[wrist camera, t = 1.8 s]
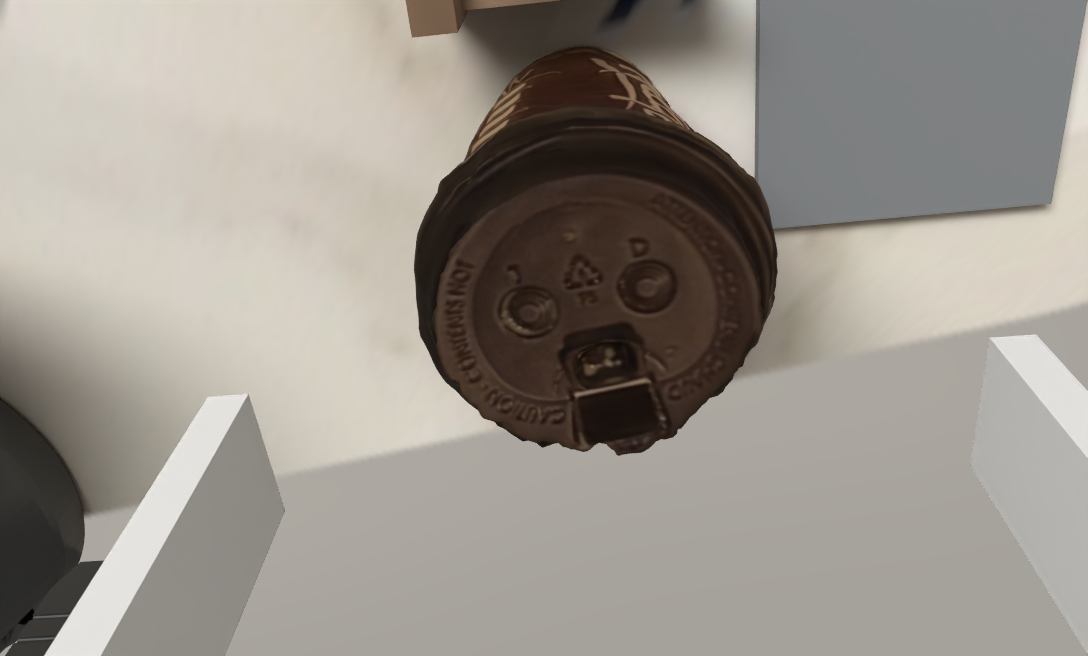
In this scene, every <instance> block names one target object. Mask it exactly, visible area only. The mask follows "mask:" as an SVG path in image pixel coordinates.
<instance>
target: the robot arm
mask: <svg viewBox="0 0 1088 656" xmlns="http://www.w3.org/2000/svg"><path fill="white" fill-rule="evenodd" d="M970 466H971V468H972V470H973V471H974V473H975V475H976V476H977V478H978V479H979V481H980V483H981V484H982V486H983V487H984V489H985V491H986V492H987V494H988V496H989V497H990V499H991V500H992V502H993V504H994V505H995V507H996V508H997V510H998V512H999V513H1000V515H1001V516H1002V518H1003V520H1004V521H1005V523H1006V524H1007V526H1008V528H1009V529H1010V531H1011V532H1012V534H1013V536H1014V537H1015V539H1016V541H1017V542H1018V544H1019V545H1020V547H1021V549H1022V550H1023V552H1024V553H1025V555H1026V557H1027V558H1028V560H1029V561H1030V563H1031V565H1032V566H1033V568H1034V569H1035V571H1036V573H1037V574H1038V576H1039V577H1040V579H1041V581H1042V582H1043V584H1044V585H1045V587H1046V589H1047V590H1048V592H1049V594H1050V595H1051V597H1052V598H1053V600H1054V602H1055V603H1056V605H1057V606H1058V608H1059V610H1060V611H1061V613H1062V614H1063V616H1064V618H1065V619H1066V621H1067V623H1068V624H1069V626H1070V627H1071V629H1072V631H1073V632H1074V634H1075V635H1076V637H1077V639H1078V640H1079V642H1080V643H1081V645H1082V647H1083V648H1084V650H1085V651H1086V653H1087V655H1088V391H1087V390H1086V389H1085V388H1084V387H1083V386H1082V385H1081V384H1080V383H1079V381H1078V380H1077V379H1076V378H1075V377H1074V376H1073V375H1072V374H1071V373H1070V372H1069V371H1068V369H1067V368H1066V367H1065V366H1064V365H1063V364H1062V363H1061V362H1060V361H1059V359H1058V358H1057V357H1056V356H1055V355H1054V354H1053V353H1052V352H1051V351H1050V350H1049V348H1048V347H1047V346H1046V345H1045V344H1044V343H1043V342H1042V341H1041V340H1040V339H1039V338H1038V336H1037V335H1036V334H1035V335H1023V336H1022V335H1021V336H1008V337H995V338H990V339H989V345H988V352H987V359H986V365H985V372H984V378H983V385H982V391H981V398H980V404H979V410H978V418H977V423H976V430H975V436H974V443H973V450H972V457H971V462H970ZM284 512H285V510H284V507H283V503H282V500H281V497H280V493H279V490H278V487H277V484H276V481H275V477H274V474H273V471H272V468H271V465H270V461H269V458H268V455H267V452H266V449H265V445H264V442H263V439H262V436H261V433H260V429H259V426H258V423H257V420H256V417H255V413H254V410H253V407H252V404H251V401H250V397H249V394H240V395H226V396H213V397H207V399H206V400H205V402H204V404H203V405H202V407H201V408H200V410H199V412H198V413H197V415H196V416H195V418H194V419H193V421H192V423H191V424H190V426H189V427H188V429H187V431H186V432H185V434H184V435H183V437H182V438H181V440H180V442H179V443H178V445H177V446H176V448H175V450H174V451H173V453H172V454H171V456H170V457H169V459H168V461H167V462H166V464H165V465H164V467H163V469H162V470H161V472H160V473H159V475H158V476H157V478H156V480H155V481H154V483H153V484H152V486H151V488H150V489H149V491H148V492H147V494H146V495H145V497H144V499H143V500H142V502H141V503H140V505H139V506H138V508H137V510H136V511H135V513H134V514H133V516H132V518H131V519H130V521H129V522H128V524H127V525H126V527H125V529H124V530H123V532H122V533H121V535H120V537H119V538H118V540H117V541H116V543H115V544H114V546H113V548H112V549H111V551H110V552H109V554H108V556H107V557H106V559H105V560H104V561H91V562H80V563H79V561H80V557H81V554H82V550H83V545H84V536H85V532H84V531H85V528H84V517H83V511H82V507H81V503H80V500H79V496H78V494H77V491H76V489H75V486H74V484H73V482H72V480H71V478H70V476H69V474H68V472H67V470H66V469H65V467H64V465H63V464H62V462H61V461H60V459H59V458H58V456H57V455H56V453H55V452H54V451H53V450H52V448H51V447H50V446H49V444H48V443H47V442H46V441H45V440H44V439H43V438H42V436H41V435H40V434H39V433H38V432H37V431H36V430H35V429H34V428H33V427H32V426H31V425H30V424H29V423H28V422H27V421H26V420H25V419H23V418H22V417H21V416H20V415H19V414H18V413H17V412H15V411H14V410H13V409H12V408H10V407H9V406H8V405H6V404H5V403H4V402H2V401H1V400H0V653H1V652H2V651H3V650H4V649H5V648H6V647H8V646H9V645H11V644H13V643H14V644H13V645H12V646H11V648H10V649H9V651H8V652H7V654H6V655H5V656H225V654H226V651H227V649H228V646H229V644H230V642H231V639H232V637H233V635H234V632H235V630H236V627H237V625H238V623H239V620H240V618H241V615H242V613H243V610H244V608H245V606H246V603H247V601H248V598H249V596H250V594H251V591H252V589H253V586H254V584H255V582H256V579H257V577H258V574H259V572H260V569H261V567H262V564H263V562H264V560H265V557H266V555H267V553H268V550H269V548H270V545H271V543H272V540H273V538H274V536H275V533H276V531H277V528H278V526H279V524H280V521H281V519H282V517H283V514H284ZM78 563H79V564H78ZM17 640H18V642H17V643H15V642H16V641H17Z"/></svg>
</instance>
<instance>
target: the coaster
mask: <svg viewBox="0 0 1088 656" xmlns="http://www.w3.org/2000/svg"><path fill="white" fill-rule="evenodd" d="M1086 4H1087V0H756V109H755V180H756V181H757V183H758V185H759V186H760V188H761V190H762V193H763V195H764V198H765V200H766V202H767V205H768V208H769V212H770V217H771V222H772V227H773V229H776V228H787V227H798V226H809V225H820V224H832V223H843V222H854V221H865V220H876V219H887V218H898V217H909V216H920V215H931V214H942V213H954V212H965V211H976V210H987V209H998V208H1009V207H1020V206H1031V205H1042V204H1051V202H1052V196H1053V190H1054V185H1055V179H1056V173H1057V168H1058V162H1059V156H1060V151H1061V145H1062V140H1063V134H1064V128H1065V123H1066V117H1067V111H1068V106H1069V100H1070V94H1071V89H1072V83H1073V77H1074V72H1075V66H1076V61H1077V55H1078V49H1079V44H1080V38H1081V32H1082V27H1083V21H1084V15H1085V10H1086Z"/></svg>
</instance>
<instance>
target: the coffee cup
mask: <svg viewBox="0 0 1088 656" xmlns="http://www.w3.org/2000/svg"><path fill="white" fill-rule="evenodd" d="M776 260H777V247H776V242H775V236H774V231H773V227H772V222H771V217H770V212H769V208H768V205H767V202H766V200H765V198H764V195H763V193H762V190H761V188H760V186H759V185H758V183H757V181H756V180H755V179H754V177H752V176H750V175H749V174H747V173H746V171H745V170H744V169H743V168H741V167H740V166H739V165H738V164H737V163H736V162H735V161H734V160H733V159H732V157H731V156H730V155H729V154H728V153H727V152H725V151H724V150H722V149H721V148H720V147H719V146H717V145H716V144H715V143H713V142H712V141H710V140H709V139H707V138H705V137H704V136H702V135H701V134H699V133H697V132H694V130H693V129H692V128H690V127H689V125H688V124H687V123H686V122H685V121H683V120H682V119H681V118H680V117H679V116H678V115H677V114H676V113H675V112H674V111H673V110H672V109H671V108H670V106H669V104H668V102H667V101H666V100H665V98H664V97H663V96H662V95H661V93H660V92H659V91H658V90H657V89H656V88H655V86H654V85H653V83H652V82H651V81H650V79H649V78H648V76H646V75H645V74H644V73H643V72H642V71H641V70H640V69H638V68H637V67H636V66H635V65H634V64H632V63H631V62H629V61H627V60H626V59H625V58H623V57H621V56H620V55H619V54H617V53H615V52H612V51H609V50H601V49H600V48H598V47H595V46H585V47H573V48H568V49H563V50H560V51H557V52H554V53H552V54H550V55H547V56H545V57H543V58H541V59H539V60H537V61H535V62H533V63H532V64H531V65H529V66H528V67H526V68H525V69H524V70H522V71H521V72H520V73H519V74H518V75H517V76H515V77H514V78H513V80H512V81H511V82H510V83H509V85H508V86H507V87H506V89H505V90H504V92H503V93H502V94H501V96H500V97H499V98H498V100H497V102H496V103H495V105H494V106H493V108H492V109H491V110H490V111H489V113H488V114H487V116H486V117H485V119H484V121H483V122H482V124H481V125H480V127H479V129H478V131H477V133H476V135H475V137H474V139H473V140H472V142H471V144H470V146H469V149H468V153H467V156H466V158H465V160H464V161H463V162H462V163H460V164H459V165H458V166H457V167H456V168H455V169H454V170H453V171H452V172H451V173H450V174H449V175H447V176H446V177H445V178H443V179H442V180H441V181H440V184H439V187H438V193H437V194H436V196H435V198H434V200H433V201H432V203H431V205H430V206H429V208H428V210H427V212H426V214H425V216H424V219H423V221H422V223H421V226H420V228H419V231H418V234H417V241H416V250H415V260H414V273H415V282H416V300H417V308H418V316H419V331H420V336H421V338H422V340H423V342H424V343H425V345H426V347H427V349H428V351H429V353H430V356H431V358H432V360H433V363H434V365H435V367H436V368H437V370H438V372H439V373H440V375H441V376H442V378H443V379H444V380H445V382H446V383H447V384H449V385H450V386H451V387H452V388H453V389H455V390H456V391H457V392H458V393H459V394H460V396H461V397H462V398H464V399H465V400H466V401H467V402H468V403H469V404H470V405H472V406H473V407H474V408H476V409H477V410H478V411H479V412H480V415H481V416H482V417H483V418H484V419H487V420H491V421H494V422H495V423H496V424H497V426H499V427H502V428H504V429H505V430H507V431H508V432H509V433H511V434H512V435H514V436H515V437H517V438H518V439H520V440H522V441H528V440H529V441H532V442H535V443H537V444H538V445H540V446H541V447H546V446H549V445H551V444H554V443H559V444H560V445H562V446H563V447H567V448H570V449H575V450H579V451H582V452H585V451H588V450H590V449H591V448H592V447H593V446H594V445H596V444H597V443H604V444H607V445H608V446H609V447H610V448H611V449H612V450H614V451H615V452H616V454H617V455H618V456H619V455H622V454H628V453H629V454H630V453H641V452H643V451H645V450H647V449H649V448H650V447H651V446H652V445H653V444H654V443H655V442H656V441H658V440H660V439H668V438H672V437H674V436H675V435H676V434H677V430H678V429H680V428H682V427H683V426H684V424H685V423H686V422H687V420H688V419H689V418H690V417H691V416H692V415H693V414H695V413H696V412H697V410H698V409H699V408H700V407H701V406H702V405H703V404H704V403H706V402H707V400H708V399H709V398H711V397H715V396H718V395H719V394H720V393H722V392H723V391H724V389H725V387H726V386H727V385H728V384H729V382H730V381H731V380H732V379H733V376H734V373H735V372H736V371H737V370H738V368H739V367H742V366H743V363H744V360H745V357H746V356H747V354H748V353H749V351H750V350H751V349H752V348H753V347H754V346H756V344H757V343H758V340H759V337H760V334H761V332H762V330H763V326H764V323H765V321H766V319H767V317H768V315H769V313H770V311H771V308H772V306H773V302H774V299H775V296H774V292H775V288H776V277H777V272H778V271H777V261H776Z"/></svg>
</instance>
